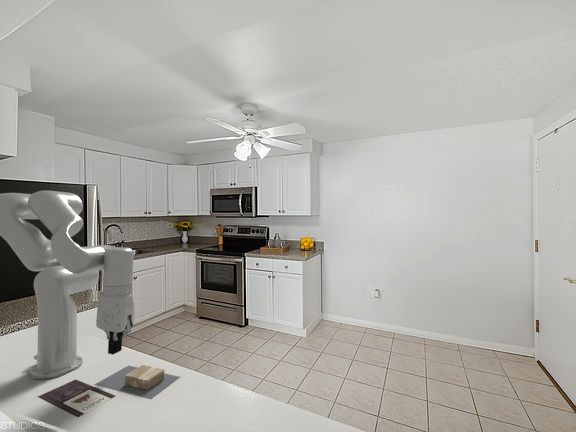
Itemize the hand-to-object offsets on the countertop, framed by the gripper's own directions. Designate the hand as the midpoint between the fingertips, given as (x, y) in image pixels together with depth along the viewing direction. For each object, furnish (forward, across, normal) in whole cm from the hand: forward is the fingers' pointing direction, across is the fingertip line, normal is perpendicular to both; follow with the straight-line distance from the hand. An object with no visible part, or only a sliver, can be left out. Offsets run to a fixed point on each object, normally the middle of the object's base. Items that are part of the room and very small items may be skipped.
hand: (114, 352), depth 85 cm
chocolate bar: (+8, 0, -11) cm, 13 cm away
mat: (+7, +9, 0) cm, 12 cm away
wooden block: (+5, +8, 0) cm, 9 cm away
